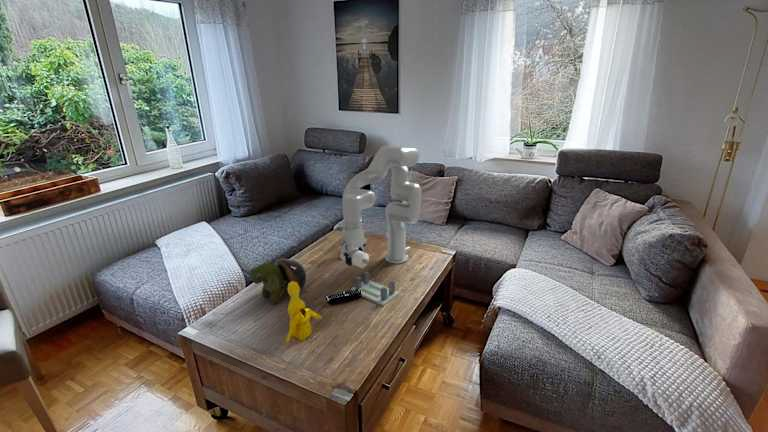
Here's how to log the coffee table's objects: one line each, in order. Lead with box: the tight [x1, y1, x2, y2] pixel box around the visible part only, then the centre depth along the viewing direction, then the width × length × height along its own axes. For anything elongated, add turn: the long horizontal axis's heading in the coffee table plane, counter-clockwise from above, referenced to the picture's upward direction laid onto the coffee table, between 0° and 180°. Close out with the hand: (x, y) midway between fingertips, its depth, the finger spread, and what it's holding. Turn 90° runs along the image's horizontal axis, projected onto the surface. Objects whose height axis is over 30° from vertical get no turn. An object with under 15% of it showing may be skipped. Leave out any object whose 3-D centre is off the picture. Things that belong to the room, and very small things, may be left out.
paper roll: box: [339, 249, 370, 269], centre depth 159 cm, size 7×15×7 cm, turn 50°
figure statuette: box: [285, 281, 323, 343], centre depth 138 cm, size 18×8×22 cm, turn 144°
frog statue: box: [250, 258, 307, 305], centre depth 163 cm, size 19×16×25 cm
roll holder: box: [350, 271, 400, 307], centre depth 167 cm, size 11×19×6 cm, turn 52°
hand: (354, 261), depth 160 cm, fingers closed on paper roll, 6 cm apart
